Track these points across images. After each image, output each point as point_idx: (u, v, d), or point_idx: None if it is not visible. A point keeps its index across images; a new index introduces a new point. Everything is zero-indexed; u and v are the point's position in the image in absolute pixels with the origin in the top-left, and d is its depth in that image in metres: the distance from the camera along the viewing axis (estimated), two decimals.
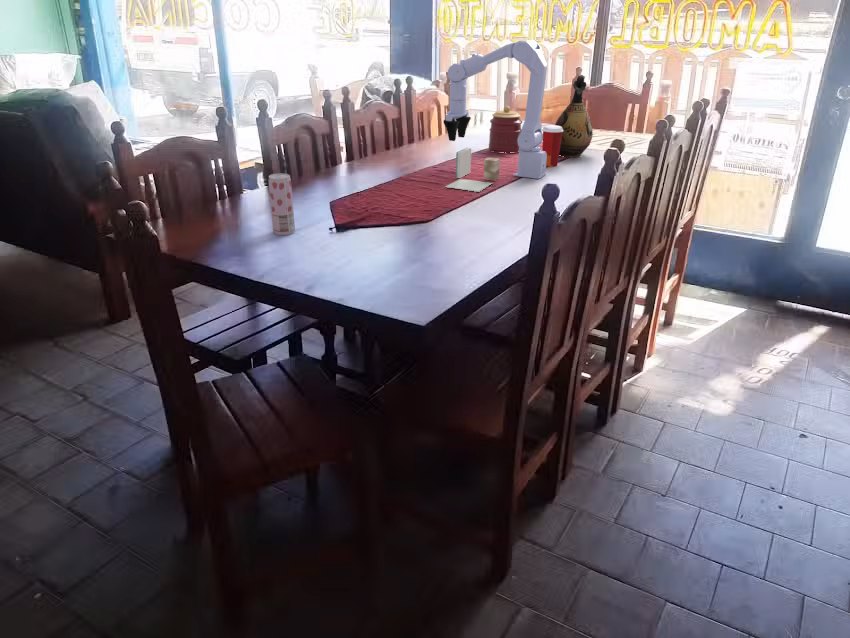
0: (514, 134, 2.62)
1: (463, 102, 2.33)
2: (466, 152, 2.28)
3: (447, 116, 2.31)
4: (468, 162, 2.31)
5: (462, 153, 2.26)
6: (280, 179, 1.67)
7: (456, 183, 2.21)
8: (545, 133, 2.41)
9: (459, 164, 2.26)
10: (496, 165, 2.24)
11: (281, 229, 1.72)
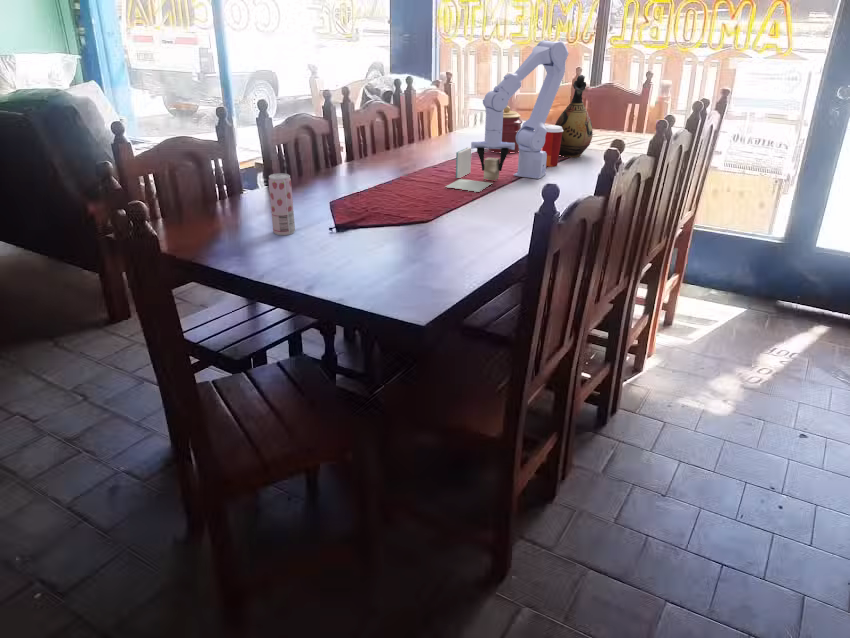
0: (514, 134, 2.62)
1: (491, 132, 2.18)
2: (466, 152, 2.28)
3: (471, 143, 2.23)
4: (468, 162, 2.31)
5: (462, 153, 2.26)
6: (280, 179, 1.67)
7: (456, 183, 2.21)
8: None
9: (459, 164, 2.26)
10: (497, 165, 2.24)
11: (281, 229, 1.72)
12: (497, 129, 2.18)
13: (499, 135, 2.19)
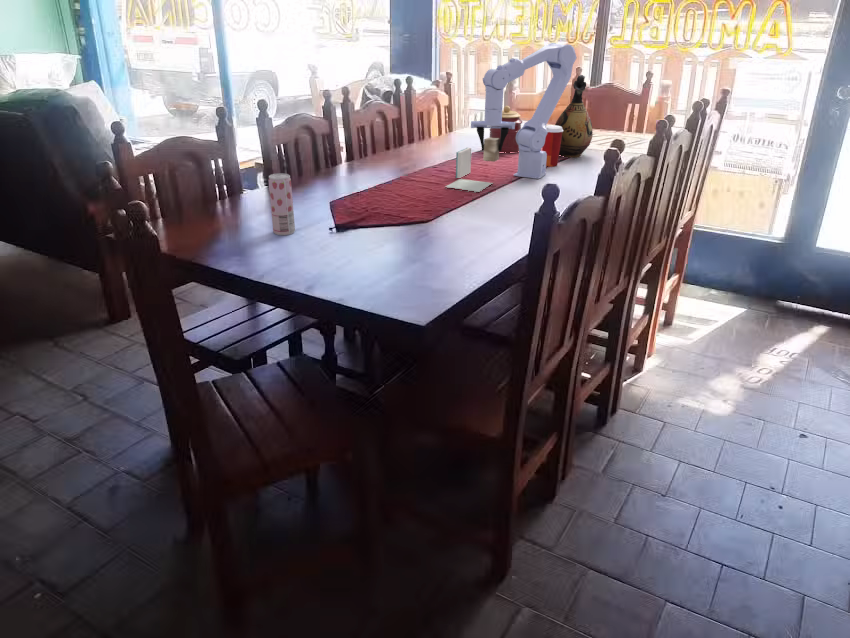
0: (514, 134, 2.62)
1: (490, 111, 2.16)
2: (466, 152, 2.28)
3: (471, 122, 2.21)
4: (468, 162, 2.31)
5: (462, 153, 2.26)
6: (280, 179, 1.67)
7: (456, 183, 2.21)
8: None
9: (459, 164, 2.26)
10: (496, 145, 2.22)
11: (281, 229, 1.72)
12: (497, 108, 2.15)
13: (499, 114, 2.16)
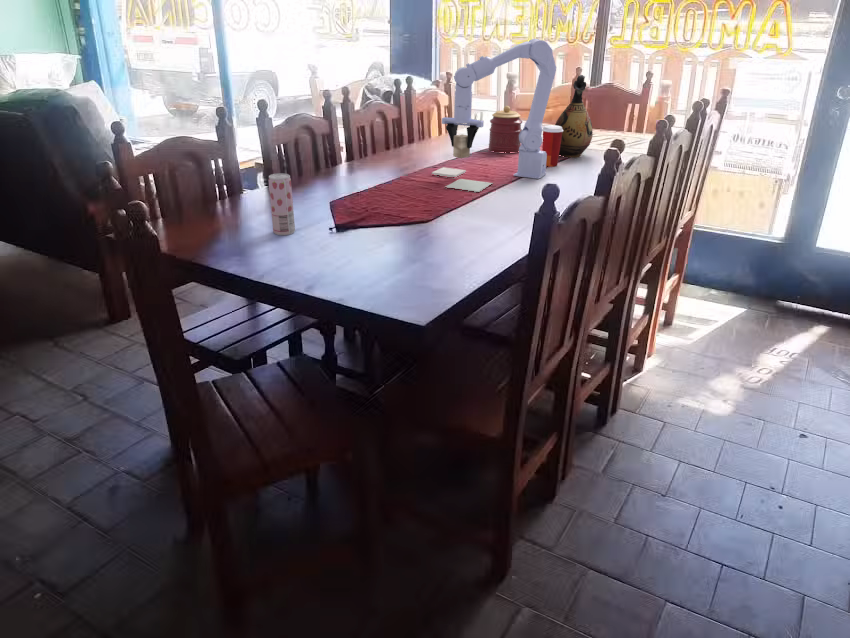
0: (514, 134, 2.62)
1: (457, 108, 2.21)
2: (439, 169, 2.36)
3: None
4: (451, 170, 2.35)
5: (434, 171, 2.33)
6: (280, 179, 1.67)
7: (456, 183, 2.21)
8: (545, 133, 2.41)
9: (441, 174, 2.31)
10: (465, 142, 2.26)
11: (281, 229, 1.72)
12: (463, 105, 2.19)
13: (465, 112, 2.20)
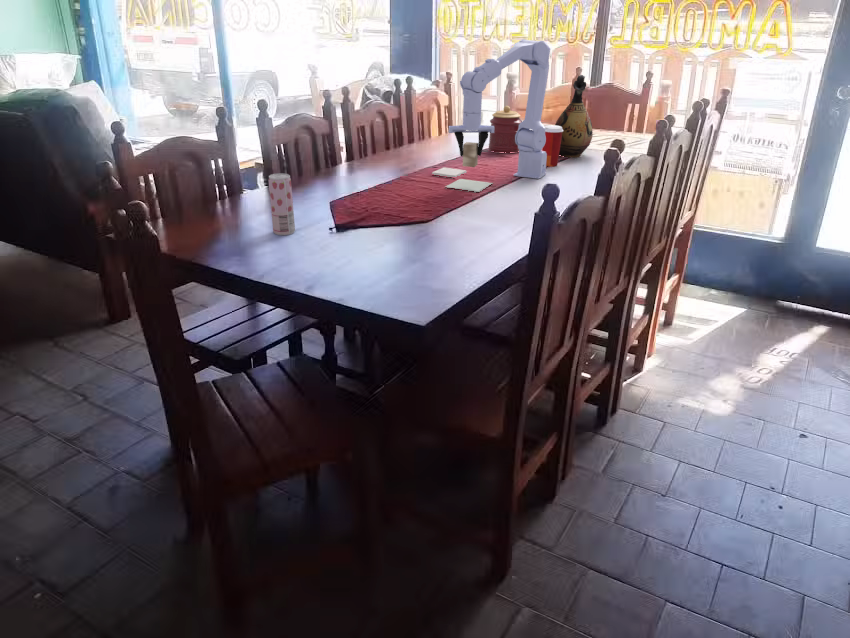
0: (514, 134, 2.62)
1: (470, 115, 2.08)
2: (440, 169, 2.36)
3: None
4: (452, 170, 2.35)
5: (435, 171, 2.33)
6: (280, 179, 1.67)
7: (456, 183, 2.21)
8: (545, 134, 2.41)
9: (441, 174, 2.31)
10: (476, 150, 2.14)
11: (281, 229, 1.72)
12: (477, 111, 2.08)
13: (478, 118, 2.09)
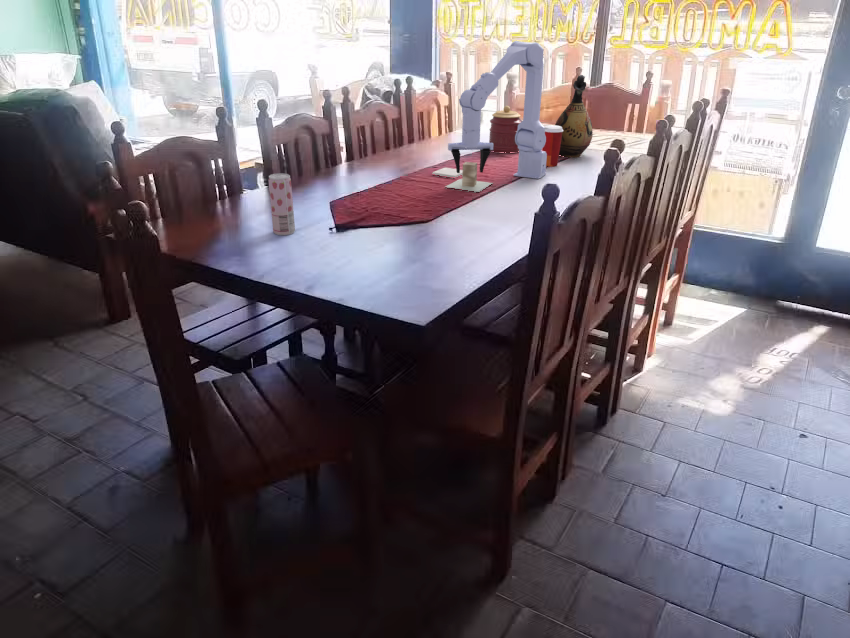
0: (514, 134, 2.62)
1: (469, 133, 2.09)
2: (441, 169, 2.35)
3: (448, 145, 2.13)
4: (452, 170, 2.35)
5: (435, 171, 2.33)
6: (280, 179, 1.67)
7: (456, 183, 2.21)
8: (545, 134, 2.41)
9: (441, 174, 2.30)
10: (475, 170, 2.16)
11: (281, 229, 1.72)
12: (476, 129, 2.09)
13: (478, 135, 2.10)
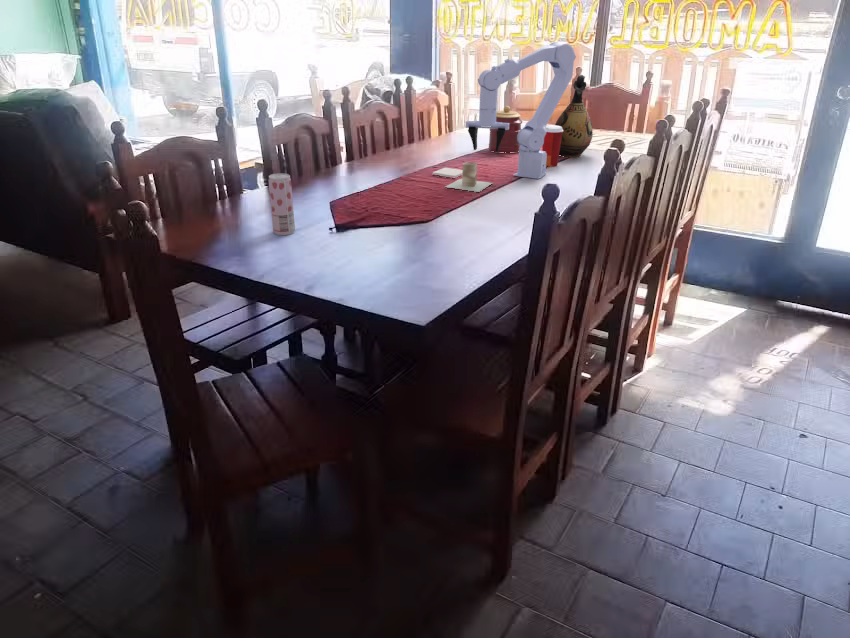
0: (514, 134, 2.62)
1: (483, 111, 2.18)
2: (441, 169, 2.35)
3: None
4: (453, 170, 2.35)
5: (435, 171, 2.33)
6: (280, 179, 1.67)
7: (456, 183, 2.21)
8: None
9: (441, 174, 2.30)
10: (475, 170, 2.16)
11: (281, 229, 1.72)
12: (490, 108, 2.17)
13: (492, 114, 2.19)
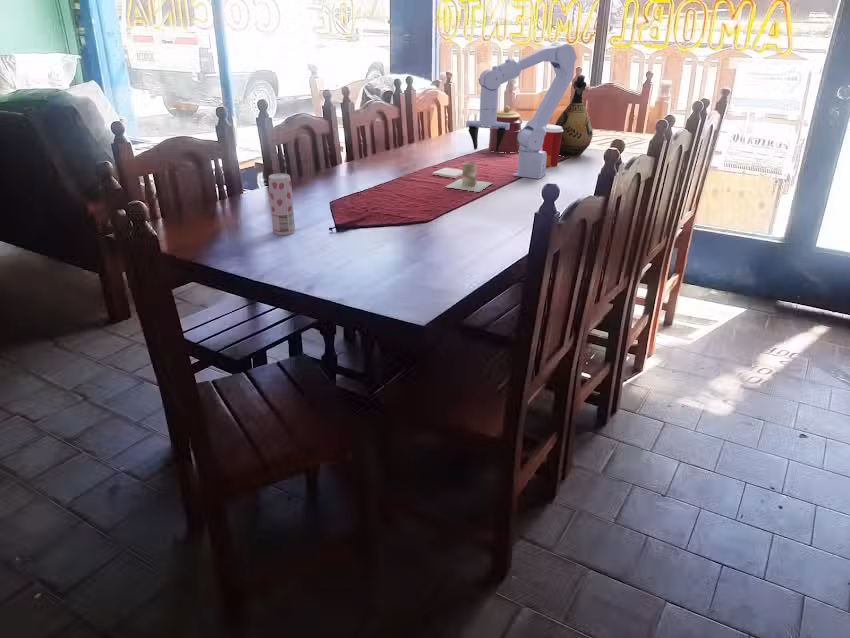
0: (514, 134, 2.62)
1: (483, 111, 2.19)
2: (441, 169, 2.35)
3: None
4: (453, 170, 2.35)
5: (436, 171, 2.33)
6: (280, 179, 1.67)
7: (456, 183, 2.21)
8: None
9: (442, 174, 2.30)
10: (475, 170, 2.16)
11: (281, 229, 1.72)
12: (490, 108, 2.18)
13: (492, 114, 2.19)
